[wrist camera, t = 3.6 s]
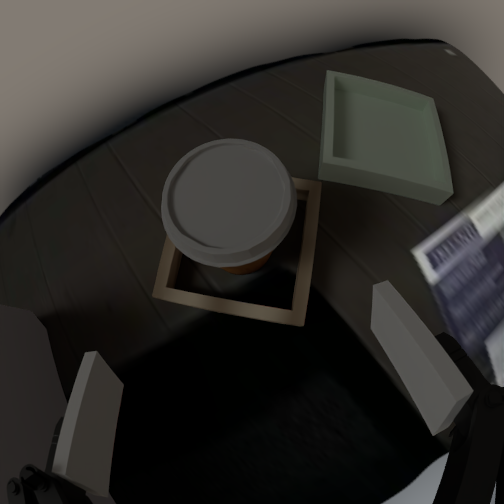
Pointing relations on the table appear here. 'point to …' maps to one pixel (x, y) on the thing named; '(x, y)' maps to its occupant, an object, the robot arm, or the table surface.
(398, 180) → the tray
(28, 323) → the game console
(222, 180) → the disposable coffee cup
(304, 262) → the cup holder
